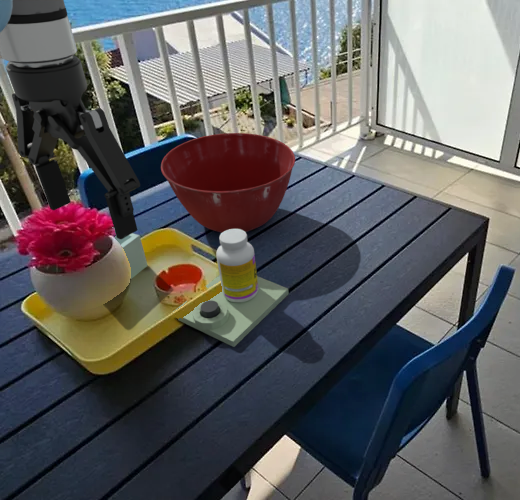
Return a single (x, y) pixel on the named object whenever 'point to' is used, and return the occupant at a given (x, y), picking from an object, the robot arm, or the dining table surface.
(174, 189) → the mixing bowl
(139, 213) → the dining table surface
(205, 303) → the button
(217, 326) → the scale
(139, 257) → the right angle wall
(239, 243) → the supplement bottle
